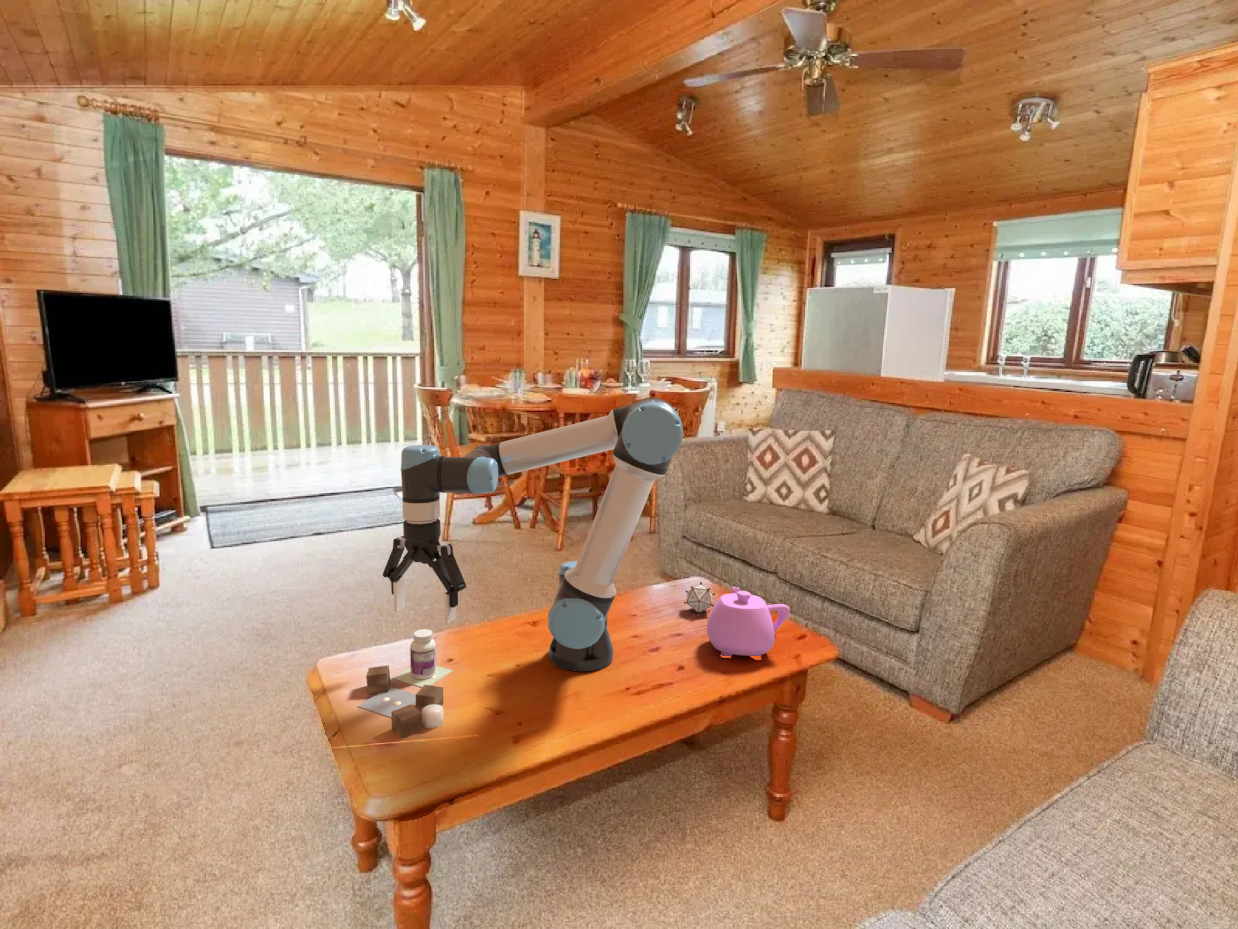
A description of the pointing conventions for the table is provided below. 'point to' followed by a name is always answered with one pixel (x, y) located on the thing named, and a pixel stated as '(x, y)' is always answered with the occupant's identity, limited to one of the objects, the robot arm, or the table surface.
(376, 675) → the cube
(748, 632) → the teapot
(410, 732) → the cube
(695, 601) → the game die
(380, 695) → the pad two
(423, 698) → the cube
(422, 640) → the pill bottle
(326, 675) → the table surface
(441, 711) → the white cap
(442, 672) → the pad three
